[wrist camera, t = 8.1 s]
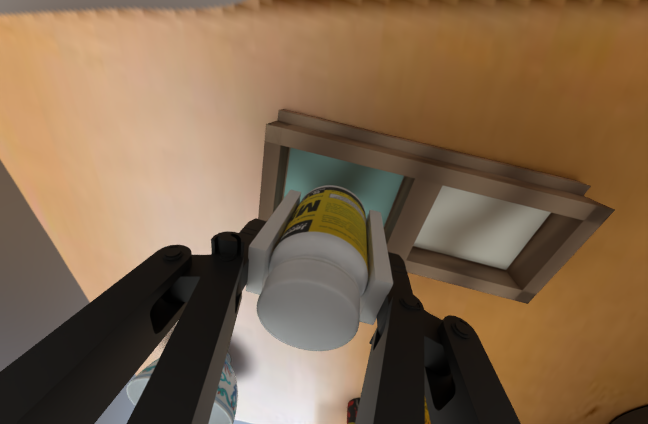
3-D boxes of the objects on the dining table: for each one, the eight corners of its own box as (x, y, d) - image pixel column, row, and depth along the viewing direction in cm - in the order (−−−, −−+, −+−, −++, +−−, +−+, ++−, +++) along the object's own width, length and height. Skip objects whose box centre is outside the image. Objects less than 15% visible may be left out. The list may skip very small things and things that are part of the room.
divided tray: (577, 180, 18) (624, 199, 15) (499, 280, 23) (522, 309, 20) (283, 109, 19) (267, 111, 16) (270, 220, 24) (256, 239, 21)
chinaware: (219, 315, 33) (182, 372, 26) (272, 375, 38) (252, 436, 31) (150, 331, 37) (104, 384, 31) (205, 383, 43) (176, 438, 36)
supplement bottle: (321, 169, 15) (281, 247, 7) (380, 208, 15) (399, 317, 8) (286, 221, 17) (228, 322, 9) (339, 254, 17) (325, 372, 10)
